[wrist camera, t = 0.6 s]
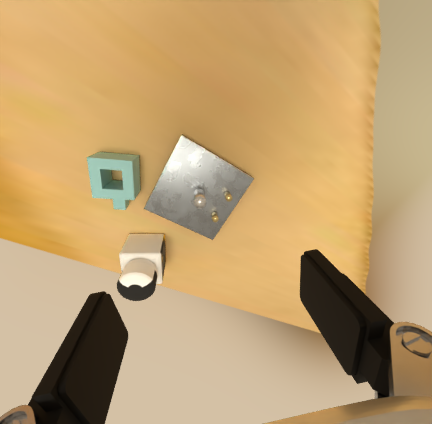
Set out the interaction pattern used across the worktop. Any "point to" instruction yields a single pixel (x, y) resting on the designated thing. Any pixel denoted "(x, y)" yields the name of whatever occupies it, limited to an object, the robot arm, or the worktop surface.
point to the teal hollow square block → (114, 189)
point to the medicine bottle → (141, 265)
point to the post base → (193, 177)
